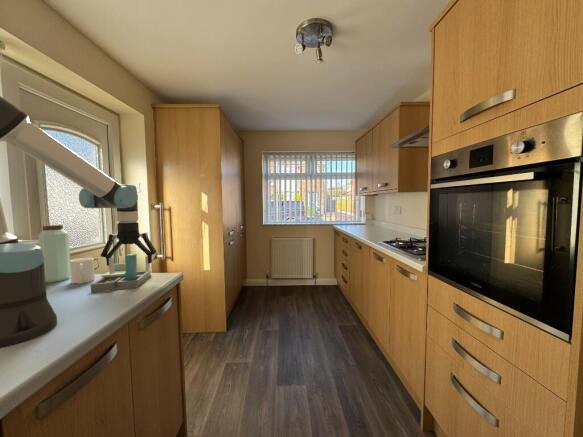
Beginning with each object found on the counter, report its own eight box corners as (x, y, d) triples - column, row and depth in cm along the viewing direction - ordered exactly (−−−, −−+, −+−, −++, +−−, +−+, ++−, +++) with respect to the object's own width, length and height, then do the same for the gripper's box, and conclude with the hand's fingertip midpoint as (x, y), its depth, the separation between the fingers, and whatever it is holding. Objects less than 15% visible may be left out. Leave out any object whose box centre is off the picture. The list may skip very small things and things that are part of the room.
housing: (136, 288, 102) (135, 281, 101) (91, 291, 98) (90, 284, 98) (151, 275, 119) (150, 269, 119) (113, 278, 116) (112, 272, 116)
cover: (123, 275, 108) (122, 267, 108) (101, 277, 106) (101, 268, 106) (131, 270, 116) (130, 262, 116) (111, 271, 115) (111, 263, 115)
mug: (69, 287, 104) (67, 263, 104) (72, 280, 114) (71, 259, 113) (94, 283, 109) (92, 261, 108) (95, 277, 119) (93, 256, 118)
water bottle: (77, 276, 121) (73, 224, 119) (59, 282, 111) (55, 226, 109) (55, 276, 120) (51, 224, 118) (35, 283, 110) (30, 226, 108)
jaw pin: (134, 284, 105) (134, 255, 104) (123, 284, 104) (123, 255, 104) (138, 281, 109) (138, 253, 108) (128, 281, 108) (127, 254, 108)
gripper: (162, 220, 111) (164, 267, 112) (98, 222, 106) (101, 271, 107) (157, 221, 104) (159, 272, 105) (88, 223, 99) (91, 276, 100)
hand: (130, 272), depth 106 cm, fingers open, 13 cm apart
